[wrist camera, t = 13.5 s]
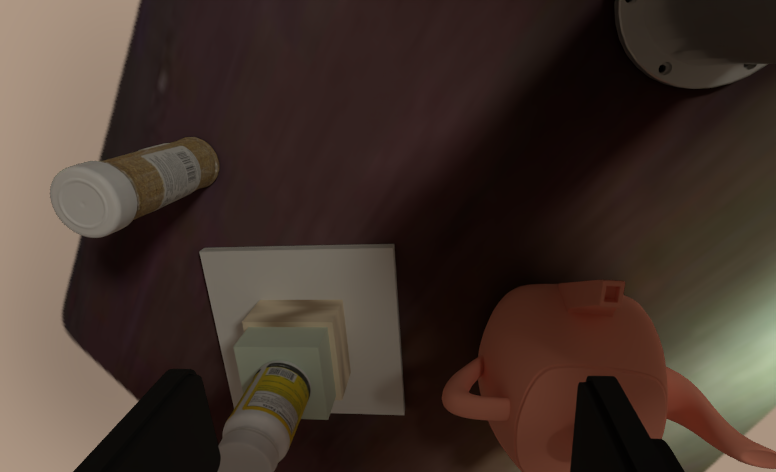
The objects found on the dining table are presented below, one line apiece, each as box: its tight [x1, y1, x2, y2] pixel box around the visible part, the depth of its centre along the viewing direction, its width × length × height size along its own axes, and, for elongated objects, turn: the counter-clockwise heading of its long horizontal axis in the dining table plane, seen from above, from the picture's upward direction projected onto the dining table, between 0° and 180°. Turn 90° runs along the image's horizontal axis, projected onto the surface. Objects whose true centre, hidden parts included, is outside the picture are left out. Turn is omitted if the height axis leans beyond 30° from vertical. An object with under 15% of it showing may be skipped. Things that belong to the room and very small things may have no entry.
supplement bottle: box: [217, 360, 311, 472], centre depth 33 cm, size 5×5×8 cm
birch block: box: [242, 300, 351, 400], centre depth 41 cm, size 8×8×4 cm
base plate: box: [199, 244, 405, 415], centre depth 44 cm, size 18×18×1 cm
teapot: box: [442, 280, 776, 472], centre depth 35 cm, size 16×17×14 cm
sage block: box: [233, 327, 336, 420], centre depth 38 cm, size 7×7×3 cm
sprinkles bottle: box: [50, 137, 219, 238], centre depth 33 cm, size 5×5×13 cm
